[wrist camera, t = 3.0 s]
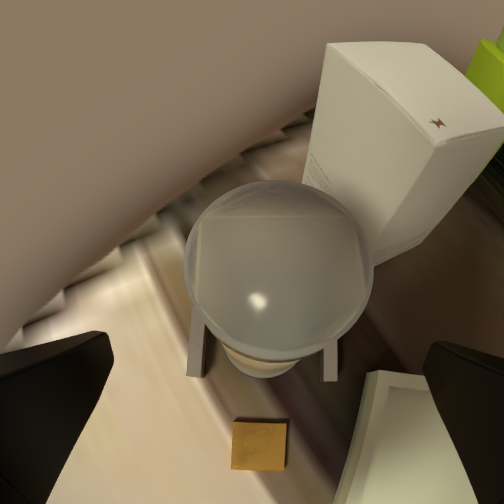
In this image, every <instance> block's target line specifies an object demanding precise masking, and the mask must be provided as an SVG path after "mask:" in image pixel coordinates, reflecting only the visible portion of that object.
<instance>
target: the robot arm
mask: <svg viewBox="0 0 504 504" xmlns="http://www.w3.org/2000/svg"><path fill="white" fill-rule="evenodd" d="M113 363H114V355H113V351H112V347H111V344H110V340H109V336H108V334H107V333H106V332H101V331H90V332H86V333H83V334H79V335H75V336H71V337H67V338H64V339H60V340H56V341H52V342H48V343H44V344H40V345H36V346H32V347H28V348H24V349H20V350H16V351H11V352H7V353H3V354H0V504H46V502H47V500H48V498H49V496H50V493H51V491H52V489H53V487H54V485H55V483H56V481H57V479H58V477H59V475H60V473H61V471H62V469H63V467H64V465H65V463H66V461H67V459H68V457H69V455H70V453H71V451H72V449H73V447H74V445H75V444H76V442H77V440H78V438H79V436H80V434H81V432H82V430H83V428H84V427H85V425H86V423H87V421H88V419H89V417H90V416H91V414H92V412H93V410H94V408H95V406H96V404H97V402H98V400H99V398H100V396H101V393H102V391H103V388H104V386H105V383H106V381H107V379H108V376H109V374H110V371H111V369H112V367H113ZM423 373H424V376H425V379H426V381H427V384H428V387H429V389H430V392H431V395H432V397H433V400H434V403H435V405H436V408H437V410H438V413H439V415H440V417H441V419H442V421H443V423H444V425H445V427H446V429H447V431H448V434H449V436H450V438H451V440H452V442H453V444H454V447H455V449H456V451H457V453H458V456H459V458H460V460H461V462H462V465H463V467H464V469H465V472H466V474H467V477H468V479H469V481H470V484H471V486H472V489H473V491H474V494H475V497H476V499H477V502H478V504H504V358H500V357H497V356H493V355H490V354H487V353H483V352H480V351H477V350H473V349H470V348H467V347H464V346H460V345H457V344H454V343H450V342H447V341H437V342H434V343H432V345H431V347H430V349H429V352H428V354H427V357H426V359H425V362H424V365H423Z"/></svg>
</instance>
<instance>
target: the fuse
mask: <svg viewBox="0 0 504 504" xmlns="http://www.w3.org/2000/svg"><path fill="white" fill-rule="evenodd" d="M183 271H184V278H185V284H186V287H187V291H188V294H189V296H190V299H191V301H192V303H193V305H194V307H195V309H196V310H197V312H198V313H199V315H200V316H201V318H202V320H203V321H204V323H205V324H206V326H207V327H208V329H209V330H210V331H211V333H212V334H213V335H214V336H215V337H216V338H217V339H218V340H219V341H220V342H221V343H222V345H223V347H224V349H225V352H226V354H227V356H228V358H229V359H230V361H231V362H232V364H233V365H234V366H235V367H236V368H237V369H238V370H239V371H241V372H242V373H244V374H246V375H248V376H251V377H254V378H263V379H265V378H272V377H276V376H278V375H280V374H282V373H284V372H286V371H287V370H289V369H290V368H292V367H293V366H294V365H295V364H296V363H297V362H298V361H299V360H301V359H304V358H306V357H309V356H311V355H313V354H315V353H317V352H318V351H320V350H322V349H323V348H325V347H327V346H328V345H330V344H331V343H333V342H334V341H336V340H337V339H339V338H340V337H341V336H342V335H344V334H345V333H346V332H347V331H348V330H349V329H350V328H351V327H352V326H353V325H354V324H355V323H356V321H357V320H358V318H359V317H360V315H361V314H362V312H363V311H364V309H365V306H366V304H367V302H368V300H369V297H370V294H371V290H372V285H373V279H374V264H373V256H372V252H371V248H370V244H369V242H368V239H367V237H366V235H365V233H364V231H363V229H362V227H361V225H360V224H359V223H358V221H357V220H356V218H355V217H354V216H353V215H352V214H351V213H350V211H349V210H348V209H347V208H346V207H345V206H343V205H342V204H341V203H340V202H339V201H337V200H336V199H334V198H333V197H332V196H330V195H328V194H327V193H325V192H323V191H321V190H319V189H317V188H314V187H311V186H309V185H305V184H302V183H298V182H292V181H284V180H267V181H259V182H254V183H250V184H246V185H243V186H240V187H238V188H236V189H233V190H231V191H229V192H228V193H226V194H224V195H222V196H221V197H220V198H218V199H217V200H215V201H214V202H213V203H212V204H211V205H210V206H209V207H208V208H207V209H206V210H205V211H204V212H203V213H202V214H201V216H200V217H199V218H198V220H197V221H196V223H195V225H194V226H193V228H192V230H191V233H190V235H189V237H188V240H187V244H186V247H185V253H184V267H183Z"/></svg>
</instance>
